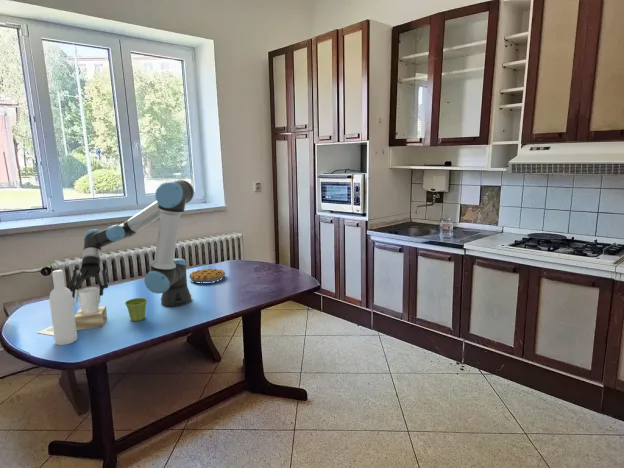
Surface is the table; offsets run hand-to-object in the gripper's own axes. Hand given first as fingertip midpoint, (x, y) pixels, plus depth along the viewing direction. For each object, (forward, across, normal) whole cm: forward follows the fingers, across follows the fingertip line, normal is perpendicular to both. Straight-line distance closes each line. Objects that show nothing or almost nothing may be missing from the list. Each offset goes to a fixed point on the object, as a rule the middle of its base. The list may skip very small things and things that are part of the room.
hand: (87, 303), depth 173 cm
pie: (-32, -54, -49) cm, 79 cm away
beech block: (+6, 0, -10) cm, 12 cm away
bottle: (+17, +6, +1) cm, 18 cm away
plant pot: (+6, -20, -10) cm, 23 cm away
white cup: (+1, 0, -6) cm, 6 cm away
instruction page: (+8, +13, -8) cm, 17 cm away
